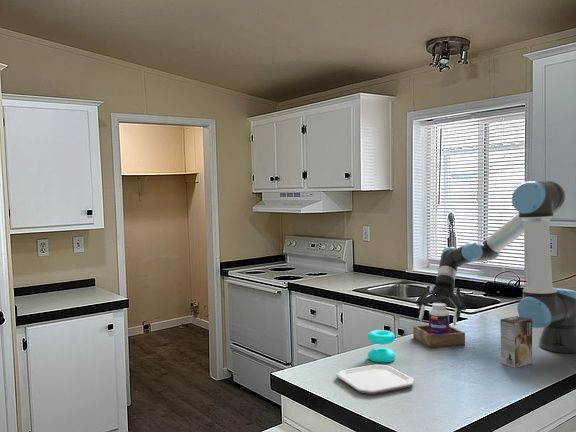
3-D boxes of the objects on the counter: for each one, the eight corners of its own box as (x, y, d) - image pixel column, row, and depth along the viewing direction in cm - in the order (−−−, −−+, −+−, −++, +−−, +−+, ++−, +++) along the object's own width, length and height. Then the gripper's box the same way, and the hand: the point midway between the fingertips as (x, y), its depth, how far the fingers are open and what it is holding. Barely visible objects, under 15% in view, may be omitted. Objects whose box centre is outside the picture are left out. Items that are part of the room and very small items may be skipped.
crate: (465, 345, 208) (465, 332, 208) (430, 348, 205) (430, 335, 205) (446, 335, 223) (446, 323, 223) (413, 337, 220) (413, 326, 220)
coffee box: (517, 359, 191) (517, 315, 190) (532, 364, 185) (533, 319, 184) (499, 363, 186) (499, 318, 186) (515, 368, 181) (515, 322, 180)
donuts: (399, 335, 189) (373, 337, 187) (399, 362, 189) (373, 364, 187) (388, 328, 198) (363, 330, 196) (388, 354, 199) (364, 356, 197)
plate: (364, 400, 157) (364, 392, 157) (331, 378, 176) (331, 371, 176) (420, 388, 165) (420, 381, 165) (383, 368, 184) (383, 362, 184)
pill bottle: (427, 340, 212) (427, 305, 211) (430, 335, 219) (429, 301, 219) (448, 342, 209) (448, 306, 208) (450, 337, 216) (450, 302, 216)
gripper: (477, 286, 220) (470, 330, 208) (418, 282, 233) (408, 323, 220) (474, 275, 215) (467, 319, 203) (415, 272, 228) (404, 313, 216)
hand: (437, 321), depth 212 cm, fingers open, 13 cm apart
